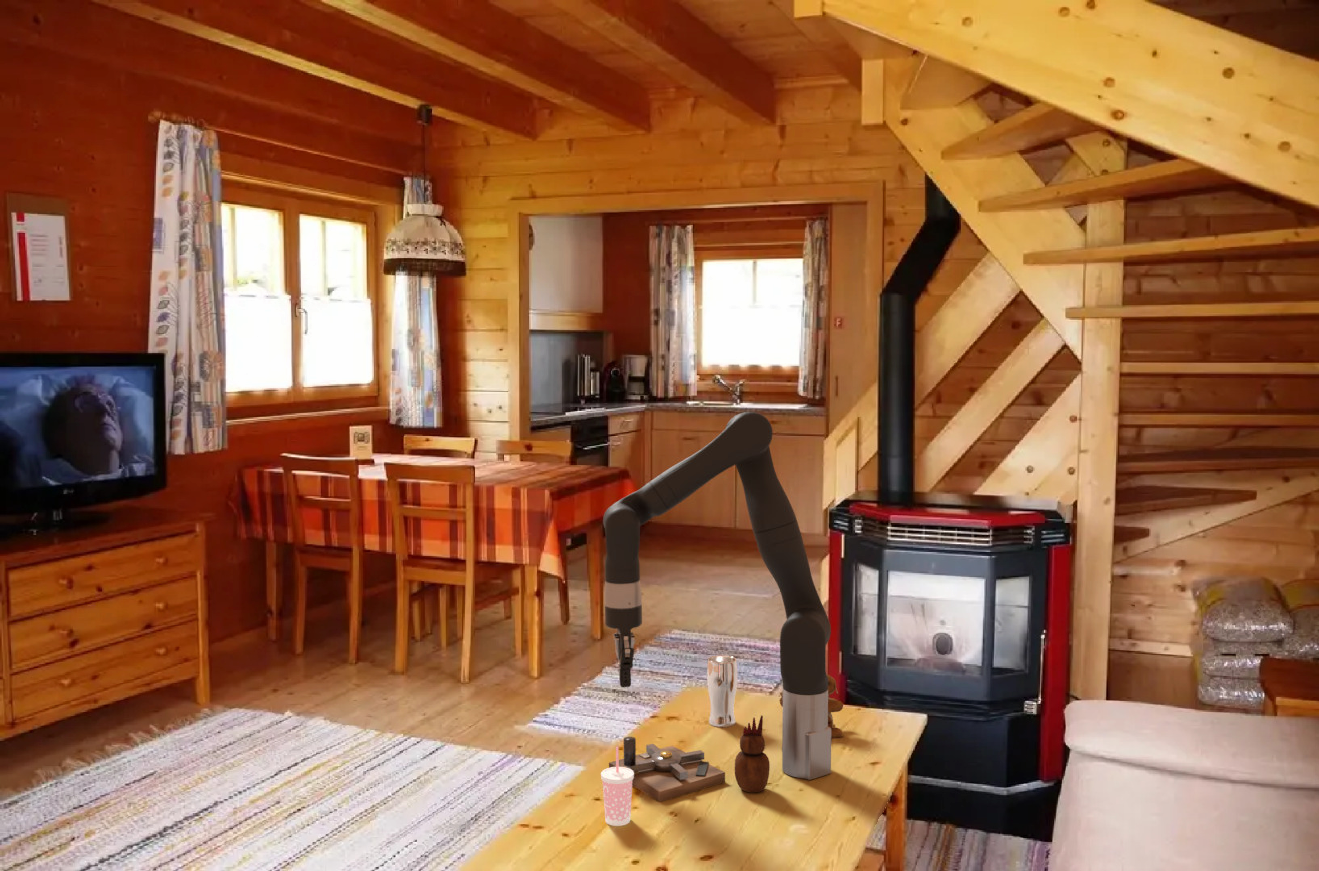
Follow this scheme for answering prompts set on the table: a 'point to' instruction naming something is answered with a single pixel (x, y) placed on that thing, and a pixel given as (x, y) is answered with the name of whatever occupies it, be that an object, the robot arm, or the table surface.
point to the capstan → (659, 759)
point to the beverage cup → (617, 793)
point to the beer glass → (722, 689)
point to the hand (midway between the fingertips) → (625, 685)
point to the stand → (674, 777)
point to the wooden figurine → (752, 760)
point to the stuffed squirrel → (829, 707)
